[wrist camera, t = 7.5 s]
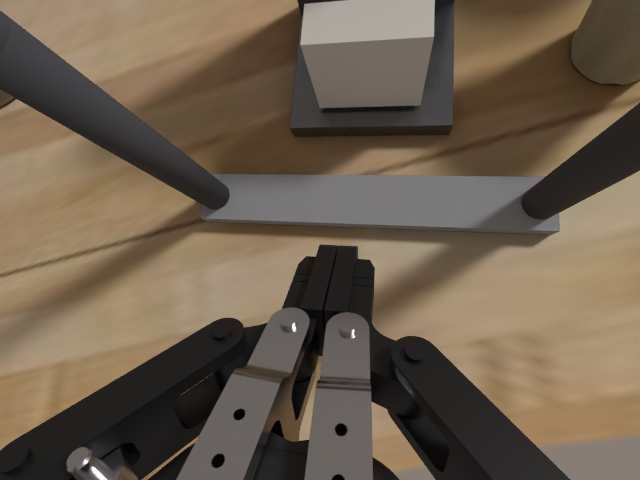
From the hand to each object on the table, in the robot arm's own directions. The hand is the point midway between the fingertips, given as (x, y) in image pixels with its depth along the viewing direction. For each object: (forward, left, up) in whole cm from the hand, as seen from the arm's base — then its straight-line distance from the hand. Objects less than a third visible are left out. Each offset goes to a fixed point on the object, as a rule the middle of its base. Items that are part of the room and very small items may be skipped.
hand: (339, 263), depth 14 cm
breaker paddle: (+8, +13, -11) cm, 19 cm away
